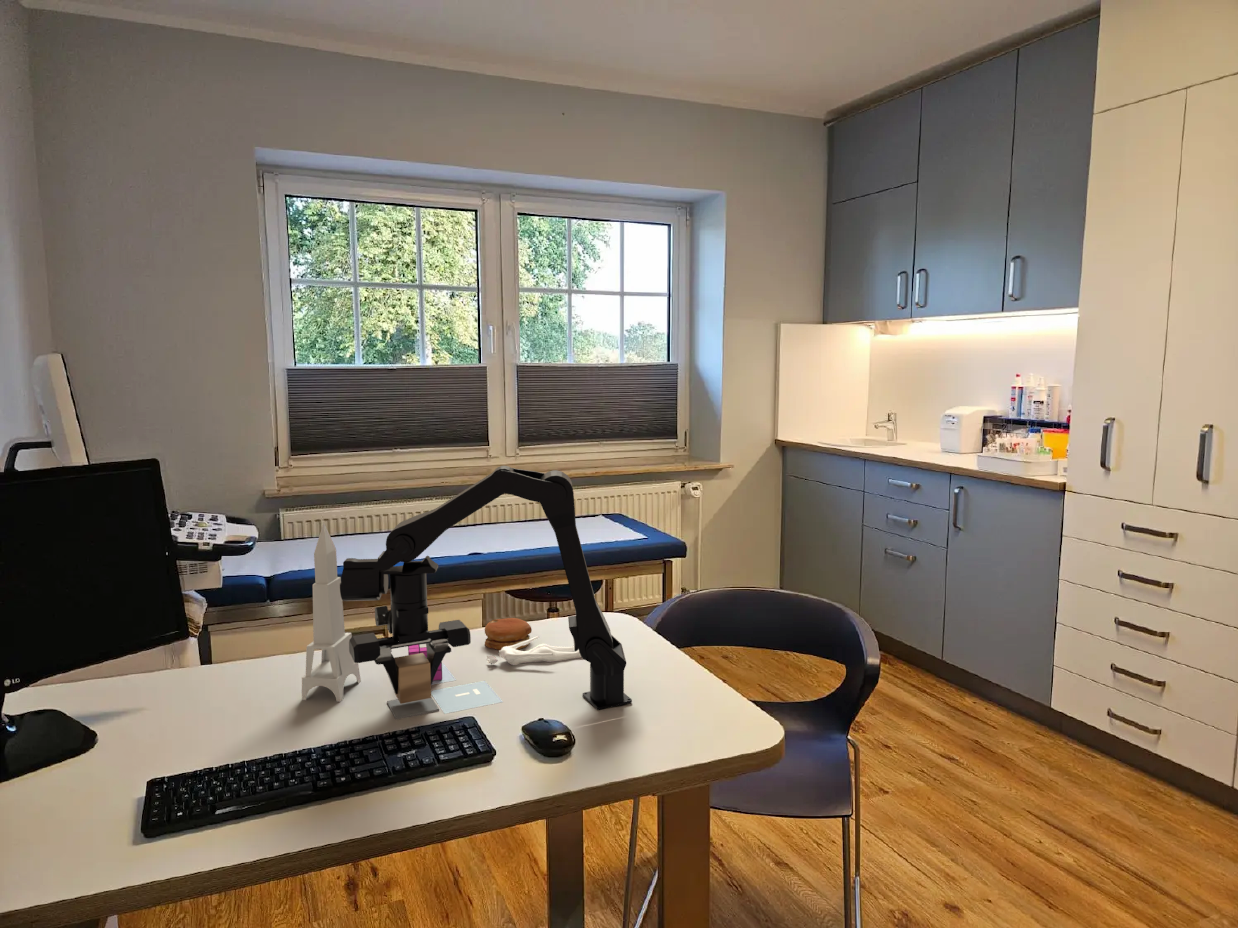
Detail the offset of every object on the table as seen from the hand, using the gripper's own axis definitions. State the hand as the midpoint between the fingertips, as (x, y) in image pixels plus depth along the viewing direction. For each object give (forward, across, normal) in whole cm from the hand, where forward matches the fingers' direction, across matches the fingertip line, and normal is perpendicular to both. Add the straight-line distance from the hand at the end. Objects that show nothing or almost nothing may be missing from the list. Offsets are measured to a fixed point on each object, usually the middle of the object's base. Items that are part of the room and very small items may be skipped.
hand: (412, 689), depth 134 cm
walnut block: (+1, 0, 0) cm, 1 cm away
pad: (+3, 0, 0) cm, 3 cm away
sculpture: (+3, +11, -13) cm, 17 cm away
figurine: (+4, -29, -10) cm, 31 cm away
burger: (+3, -24, -22) cm, 32 cm away
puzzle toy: (+3, -5, -12) cm, 13 cm away
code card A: (+3, -9, 0) cm, 9 cm away
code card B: (+3, -5, -12) cm, 13 cm away
